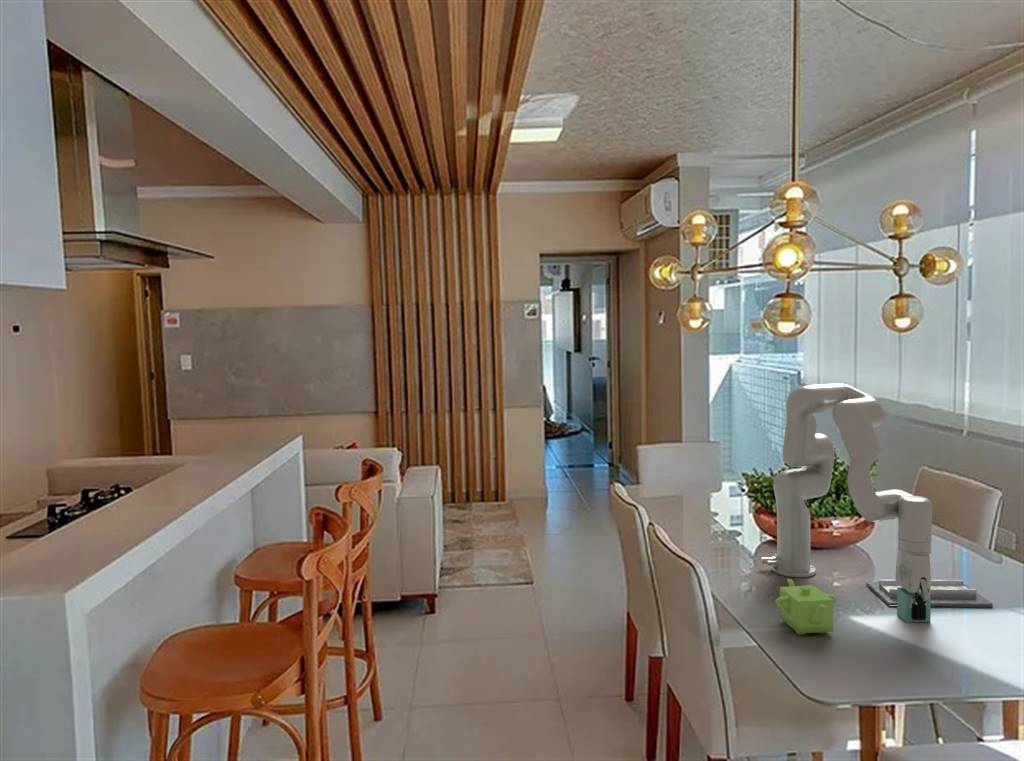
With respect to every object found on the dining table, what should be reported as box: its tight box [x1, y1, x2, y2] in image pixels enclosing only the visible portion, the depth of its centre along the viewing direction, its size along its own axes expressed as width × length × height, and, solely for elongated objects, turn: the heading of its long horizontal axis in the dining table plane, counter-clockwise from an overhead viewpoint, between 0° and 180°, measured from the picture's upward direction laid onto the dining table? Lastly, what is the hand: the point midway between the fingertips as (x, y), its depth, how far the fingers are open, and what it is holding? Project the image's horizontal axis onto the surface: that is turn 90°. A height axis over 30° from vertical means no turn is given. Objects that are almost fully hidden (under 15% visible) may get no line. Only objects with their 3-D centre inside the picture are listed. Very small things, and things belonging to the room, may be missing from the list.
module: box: [896, 588, 932, 623], centre depth 185 cm, size 6×5×7 cm
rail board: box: [865, 578, 994, 608], centre depth 200 cm, size 26×16×3 cm, turn 84°
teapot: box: [775, 578, 837, 636], centre depth 181 cm, size 20×15×11 cm
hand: (913, 614), depth 185 cm, fingers closed on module, 5 cm apart
